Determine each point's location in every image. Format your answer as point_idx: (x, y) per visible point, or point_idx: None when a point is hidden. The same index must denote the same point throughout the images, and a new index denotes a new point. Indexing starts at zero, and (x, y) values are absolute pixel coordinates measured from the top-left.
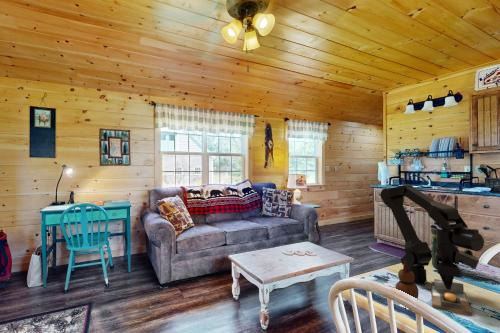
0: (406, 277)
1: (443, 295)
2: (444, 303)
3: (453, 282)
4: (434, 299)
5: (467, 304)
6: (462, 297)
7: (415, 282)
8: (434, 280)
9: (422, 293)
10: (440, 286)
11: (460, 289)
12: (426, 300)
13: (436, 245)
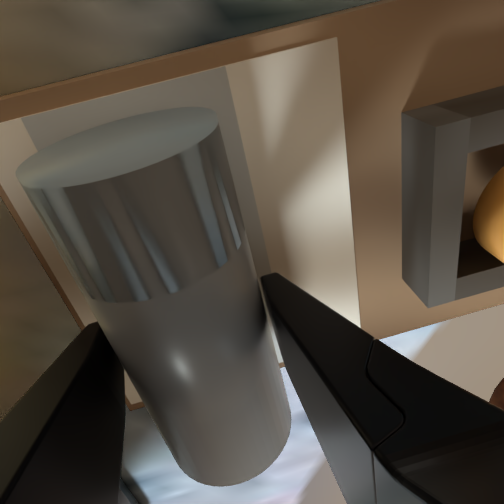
0: None
1: (443, 279)
2: None
3: (161, 316)
4: (442, 305)
5: (414, 18)
6: (222, 109)
7: (123, 488)
8: (261, 468)
9: (292, 390)
10: (278, 369)
11: (227, 167)
12: (415, 334)
13: None
